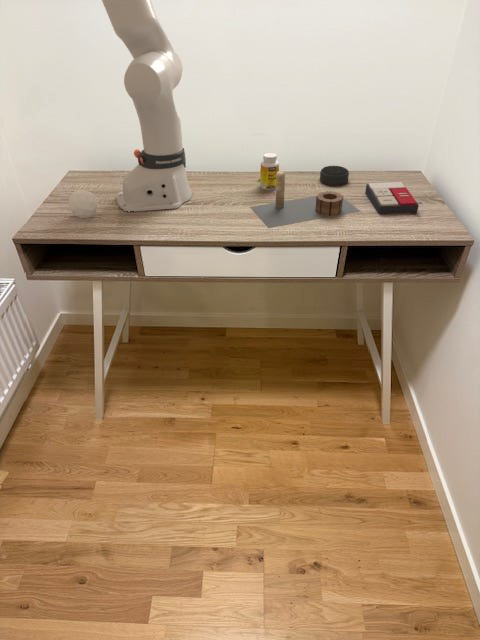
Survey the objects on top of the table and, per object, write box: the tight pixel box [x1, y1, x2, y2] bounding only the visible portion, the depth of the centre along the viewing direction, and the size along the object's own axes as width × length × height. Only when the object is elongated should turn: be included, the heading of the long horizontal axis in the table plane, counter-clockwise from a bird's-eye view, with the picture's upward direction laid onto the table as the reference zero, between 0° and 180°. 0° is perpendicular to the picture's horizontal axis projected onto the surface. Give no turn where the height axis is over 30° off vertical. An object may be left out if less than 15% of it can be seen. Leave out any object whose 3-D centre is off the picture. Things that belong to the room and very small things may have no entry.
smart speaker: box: [319, 165, 350, 187], centre depth 153 cm, size 9×9×4 cm
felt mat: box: [249, 195, 361, 228], centre depth 138 cm, size 28×14×1 cm, turn 110°
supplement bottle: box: [259, 152, 280, 191], centre depth 148 cm, size 6×6×10 cm
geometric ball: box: [68, 189, 99, 220], centre depth 134 cm, size 8×8×8 cm
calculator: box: [364, 181, 420, 215], centre depth 140 cm, size 11×4×15 cm
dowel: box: [275, 170, 286, 209], centre depth 136 cm, size 2×2×10 cm
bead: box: [315, 191, 344, 217], centre depth 135 cm, size 7×7×4 cm
